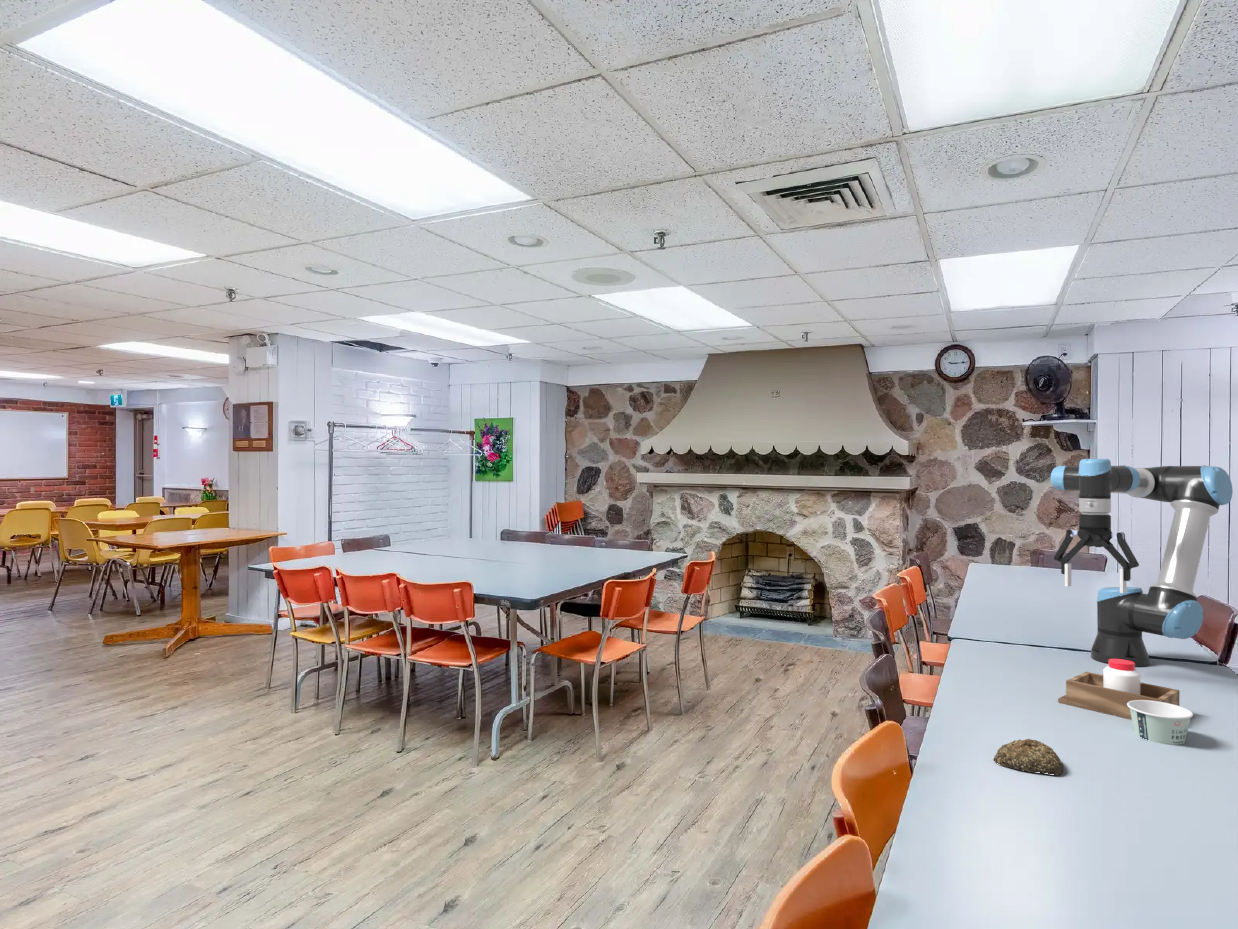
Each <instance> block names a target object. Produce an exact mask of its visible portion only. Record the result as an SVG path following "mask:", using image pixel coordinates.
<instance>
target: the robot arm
mask: <svg viewBox="0 0 1238 929" xmlns="http://www.w3.org/2000/svg"><path fill="white" fill-rule="evenodd" d="M1050 484H1051V485H1052V487H1053V488H1054V489H1055V490H1059V491H1065V492H1066V491H1070V492H1072V491H1073V492H1074V491H1076V492H1078V493H1079V495H1078V511H1079V512H1080V513H1079V515H1078V530H1075V529H1074V528H1070V529H1066V531H1065V537H1064V539H1063V541H1062V542H1061V544H1060V546H1059V547H1058V550H1057V551H1056V552H1055V554H1054V556H1053V560H1054V561H1058V562H1060V565H1061V566H1060V574H1062V575H1064V587H1072V562H1070V561H1071V560H1072V559H1073V558H1074V557H1075V556H1076V555H1077V553H1079V552H1080V551H1081V550H1082V549H1083V548H1084V547H1086V546H1087V547H1095V548H1104V549H1105V550H1106V551H1107V552H1108V553H1109V554H1110V555H1111V557H1113V558H1114V560H1115V561H1116V562H1117V563H1118V564H1119V565H1120V566H1121V567H1122V568H1119V586H1112V587H1111V586H1109V587H1107V586H1106V587H1102V588H1100V589H1099V590H1098V591H1097V599H1096V606H1097V608H1096V610H1097V612H1096V615H1097V616H1096V617H1097V619H1096V620H1097V621H1096V622H1097V626H1096V627H1097V628H1096V629H1097V631H1096V632H1097V633H1096V637H1095V638H1094V641H1093V643H1092V647H1091V649H1090V658H1092V659H1093V660H1096V661H1097V662H1101V663H1106V664H1108V660H1109V659H1124V660H1129V661H1132V662H1134V663H1135V667H1146V666H1149V665H1150V655H1149V653H1148V650H1147V648H1146V645H1145V643H1144V642H1145V641H1144V640H1143V633H1148V634H1153V635H1157V636H1162V637H1166V638H1169V639H1180V640H1186V639H1189V638H1192V637H1193V636H1195V635H1196V634H1197V633H1198V632H1199V630H1200V629H1201V627H1202V625H1203V622H1204V609H1203V606H1202V605H1201V603H1200V602H1198V596H1197V595H1196V594H1195V592H1194V591H1193V590H1194V587H1195V586H1194V585H1195V582H1196V577H1197V574H1198V570H1199V566H1200V561H1201V557H1202V553H1203V549H1204V548H1203V547H1204V544H1205V540H1206V535H1207V532H1208V528H1209V524H1210V520H1211V517H1212V516H1214V515H1216V514H1219V513H1218V512H1219V509H1220V506H1225V505H1228V504H1229V503H1230V502H1231V500H1232V497H1233V493H1234V492H1233V483H1232V481H1231V478H1230V476H1229V474H1228V472H1227V471H1226V470H1225V469H1223V468H1222V467H1219V466H1215V465H1214V466H1212V465H1210V466H1209V465H1182V466H1181V465H1164V466H1163V465H1162V466H1154V467H1153V466H1152V467H1132V466H1127V465H1125V464H1124V465H1112V463H1111V460H1110V459H1108V458H1081V460H1080V461H1079V464H1078V465H1059V466H1055V467H1054V468H1053V469H1052V470H1051V473H1050ZM1112 494H1122V495H1123V494H1125V495H1129V496H1130V497H1132V498H1137V499H1139V498H1140V499H1146V500H1151V501H1155V502H1163V503H1170V506H1171V507H1172V508H1173V510H1174V512H1173V514H1174V515H1173V517H1172V521H1171V526H1170V529H1169V534H1168V538H1167V542H1166V546H1165V550H1164V553H1163V558H1162V561H1161V566H1160V570H1159V574H1158V578H1157V582H1156V583H1155V584H1154V583H1153V584H1152V585H1150V586H1149V589H1148V592H1147V593H1143V592H1144V590H1143V589H1142V587H1138V586H1127V582H1129V581H1131V574H1132V572H1131V570H1132V569H1133V568H1138V567H1139V566H1140V564H1139V562H1138V560H1137V558H1136V557H1135V555H1134V553H1133V551H1132V550H1131V547H1130V546H1129V544H1128V542H1127V540H1126V534H1125V533H1124V531H1121V532H1112V516H1111V512H1112V500H1111V497H1112ZM1075 537H1078V538H1079V539H1080V540H1078V541H1077V542H1076V544H1075V545H1074V546H1073V547H1072V548H1071V549H1070V550H1069V551H1068V552H1067V550H1068V548H1069V546H1070V544H1072V541H1073V540H1074V538H1075ZM1112 538H1113V539H1114V540H1115V541H1117V543H1118V545H1119V547H1120V549H1121V551H1122V553H1123V554H1124V556H1125V557H1124V556H1123V555H1122V554H1121V553H1120V552H1119V551H1118V550H1117V548H1116V547H1115V545H1114V544H1113V543H1112V542H1111V540H1112ZM1066 552H1067V553H1066ZM1065 553H1066V554H1065Z"/></svg>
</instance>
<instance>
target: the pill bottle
mask: <svg viewBox="0 0 1238 929" xmlns="http://www.w3.org/2000/svg"><path fill="white" fill-rule="evenodd" d="M1107 664H1108V665H1106V667H1104V668H1103V670H1102V675H1103V687H1105V688H1109V689H1114V690H1119V691H1123V692H1128V693H1133V694H1138V695H1141V685H1140V682H1141V673H1140V671H1138V670H1137V669H1136V666H1135V663H1134V662H1132V661H1129V660H1124V659H1109V660H1108V663H1107Z"/></svg>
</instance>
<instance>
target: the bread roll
mask: <svg viewBox="0 0 1238 929" xmlns="http://www.w3.org/2000/svg"><path fill="white" fill-rule="evenodd" d="M993 762H994V763H995V764H997V763H998V764H1000V765H999V766H1001V765H1002V767H1004V766H1006V767H1005V768H1007V767H1011V768H1014V769H1013V770H1015V769H1017V770H1016V771H1020V770H1024V771H1023V772H1025V771H1029V772H1028V773H1031V772H1040V773H1048V774H1054V775H1057V776H1059V775H1058V774H1060V775H1062V773H1063V772H1062V771H1064V763H1063V762H1062V761H1061V758H1060V757H1059V755H1058V754H1057V753H1056V752H1055V751H1054V749H1053V748H1051V746H1048V745H1047V744H1045V743H1044V742H1042V741H1038V740H1035V739H1031V738H1025V739H1018V740H1017V739H1016V740H1013V741H1010V742H1008V743H1006V744H1002V745H1001V747H999V748H998V749H997V752H996V754H995V755H994V757H993ZM998 764H997V765H998ZM1011 768H1010V769H1011Z"/></svg>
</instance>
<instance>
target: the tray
mask: <svg viewBox="0 0 1238 929" xmlns="http://www.w3.org/2000/svg"><path fill="white" fill-rule="evenodd" d="M1140 685H1141V695H1138V694H1133V693H1128V692H1123V691H1119V690H1114V689H1109V688H1105V687H1103V674H1100V673H1095V672H1091V671H1085V672H1082V673H1080V674H1078V675H1075V676H1074V677H1071V678H1069V679H1066V681H1065V694H1064V695H1063V696H1061V697H1059V698H1057V703H1058V702H1059V703H1060V704H1064V705H1067V706H1071V705H1073V706H1072V707H1075V706H1076V707H1075V708H1080V709H1084V708H1085V709H1086V710H1089V711H1092V712H1093V711H1094V712H1097V713H1101V712H1102V713H1101V714H1106V715H1110V716H1114V715H1115V717H1119V718H1122V719H1128V720H1131V721H1132V718H1131V713H1130V708H1129V707H1128V706H1127V703H1128V702H1129V701H1134V700H1150V701H1158V702H1164V703H1169V704H1173V705H1177V706H1180V689H1176V688H1170V687H1167V686H1166V687H1165V686H1160V685H1155V684H1151V683H1145V682H1141V681H1140ZM1085 709H1084V710H1085Z"/></svg>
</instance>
